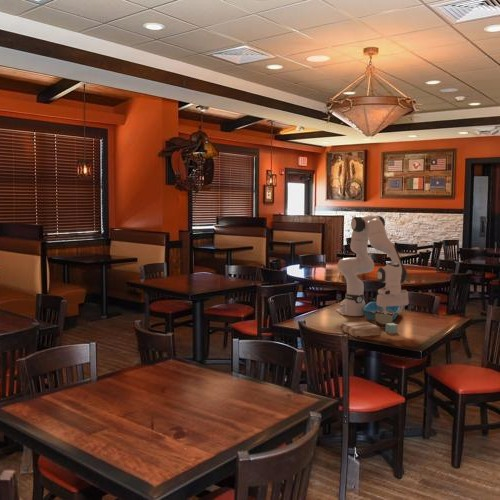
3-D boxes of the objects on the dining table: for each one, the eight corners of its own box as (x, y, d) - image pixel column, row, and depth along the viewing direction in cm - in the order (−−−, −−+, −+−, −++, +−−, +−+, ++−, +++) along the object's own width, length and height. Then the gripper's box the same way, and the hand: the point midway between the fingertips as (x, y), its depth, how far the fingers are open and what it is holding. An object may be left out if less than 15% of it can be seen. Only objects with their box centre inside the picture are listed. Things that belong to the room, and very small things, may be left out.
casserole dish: (395, 324, 350) (396, 313, 349) (360, 321, 358) (360, 310, 357) (402, 313, 384) (402, 302, 383) (369, 310, 392) (370, 300, 391)
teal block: (385, 331, 331) (385, 323, 330) (392, 331, 332) (392, 322, 332) (390, 333, 326) (390, 325, 325) (397, 333, 328) (397, 324, 327)
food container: (396, 327, 342) (396, 311, 341) (393, 329, 337) (393, 312, 336) (376, 324, 348) (377, 308, 347) (373, 326, 343) (374, 310, 342)
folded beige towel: (341, 331, 333) (342, 322, 332) (365, 329, 338) (365, 321, 337) (355, 337, 318) (355, 329, 317) (379, 335, 323) (379, 327, 322)
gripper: (404, 288, 333) (404, 311, 334) (375, 290, 326) (374, 313, 327) (411, 290, 327) (410, 313, 328) (381, 292, 320) (380, 315, 321)
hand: (392, 313), depth 328 cm, fingers open, 8 cm apart
